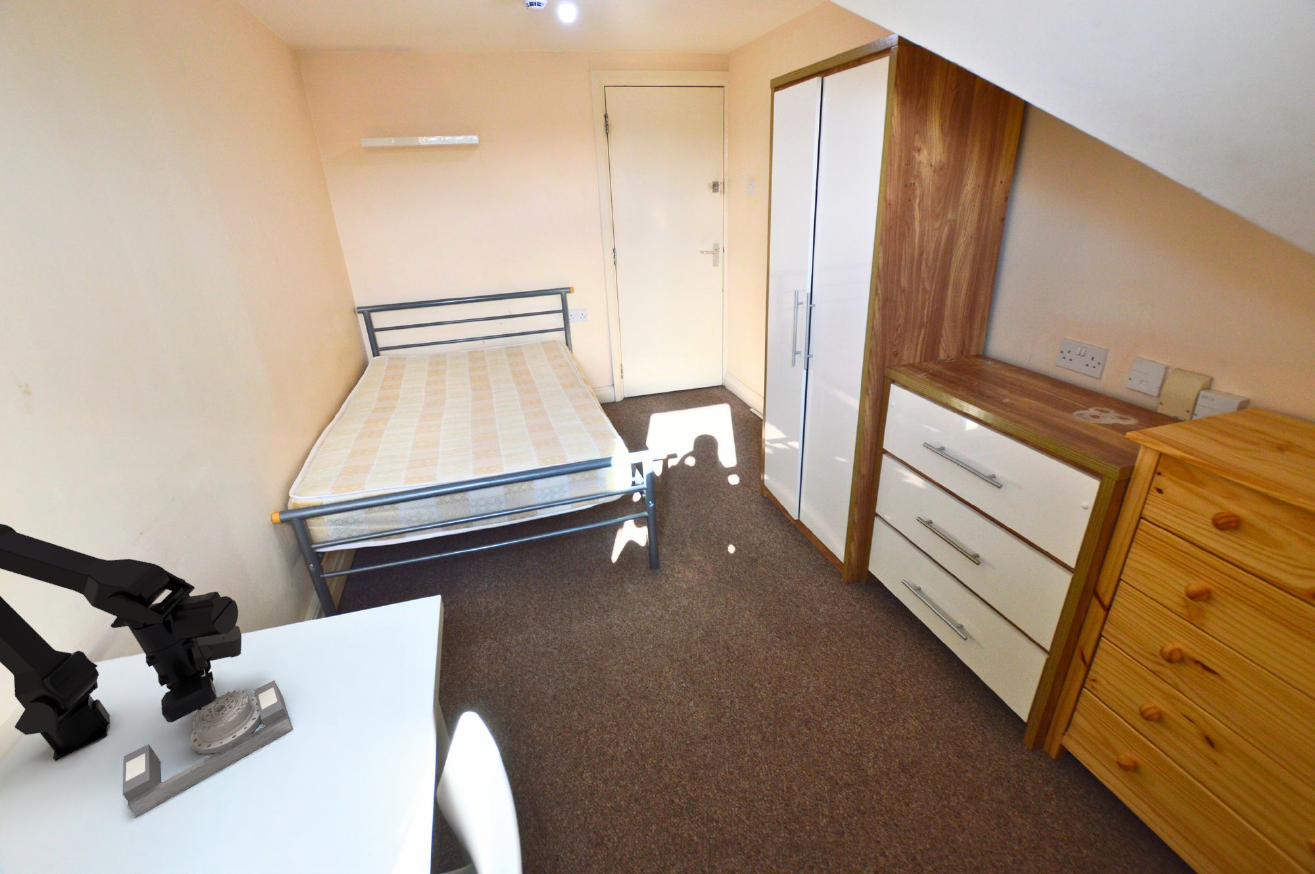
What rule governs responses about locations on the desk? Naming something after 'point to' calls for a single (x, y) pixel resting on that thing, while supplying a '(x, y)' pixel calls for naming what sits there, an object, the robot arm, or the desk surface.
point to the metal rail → (208, 766)
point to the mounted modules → (146, 766)
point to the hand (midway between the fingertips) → (207, 709)
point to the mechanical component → (224, 722)
